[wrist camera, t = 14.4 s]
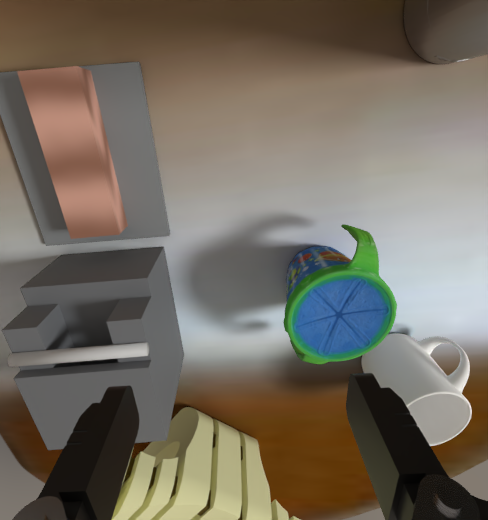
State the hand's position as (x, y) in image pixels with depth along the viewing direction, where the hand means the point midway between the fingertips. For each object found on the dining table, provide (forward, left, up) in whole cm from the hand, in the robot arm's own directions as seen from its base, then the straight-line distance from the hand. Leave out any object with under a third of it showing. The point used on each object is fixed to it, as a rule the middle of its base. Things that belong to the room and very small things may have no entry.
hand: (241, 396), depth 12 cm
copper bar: (-7, -15, -26) cm, 30 cm away
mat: (-6, -15, -26) cm, 31 cm away
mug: (+22, +21, -27) cm, 41 cm away
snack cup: (+9, +9, -27) cm, 30 cm away
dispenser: (+12, -15, -26) cm, 32 cm away
